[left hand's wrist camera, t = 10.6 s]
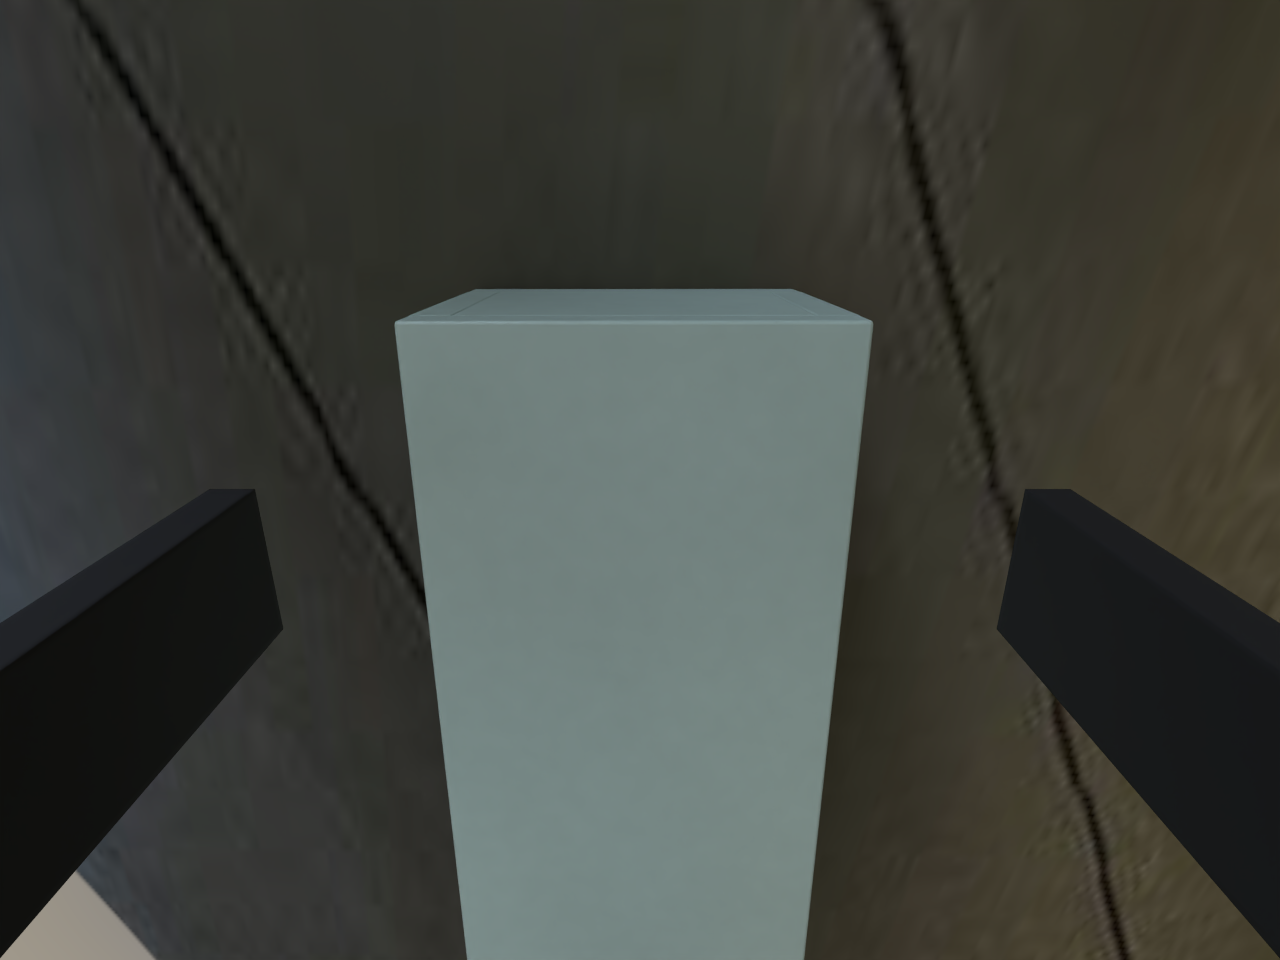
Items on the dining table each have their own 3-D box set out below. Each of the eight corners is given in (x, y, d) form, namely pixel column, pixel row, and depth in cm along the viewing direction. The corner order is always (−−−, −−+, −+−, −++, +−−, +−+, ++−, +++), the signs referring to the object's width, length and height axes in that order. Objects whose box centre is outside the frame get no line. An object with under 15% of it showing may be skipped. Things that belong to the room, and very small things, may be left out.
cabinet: (760, 780, 31) (803, 973, 23) (511, 781, 30) (468, 975, 23) (795, 288, 24) (875, 320, 16) (473, 288, 24) (392, 320, 16)
